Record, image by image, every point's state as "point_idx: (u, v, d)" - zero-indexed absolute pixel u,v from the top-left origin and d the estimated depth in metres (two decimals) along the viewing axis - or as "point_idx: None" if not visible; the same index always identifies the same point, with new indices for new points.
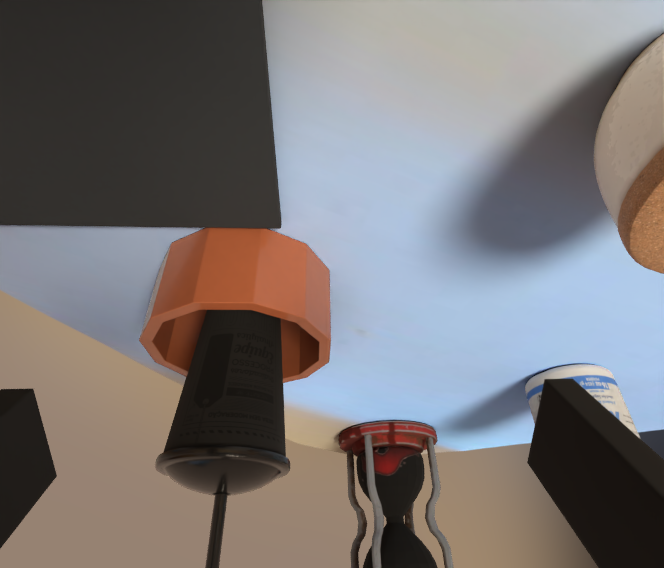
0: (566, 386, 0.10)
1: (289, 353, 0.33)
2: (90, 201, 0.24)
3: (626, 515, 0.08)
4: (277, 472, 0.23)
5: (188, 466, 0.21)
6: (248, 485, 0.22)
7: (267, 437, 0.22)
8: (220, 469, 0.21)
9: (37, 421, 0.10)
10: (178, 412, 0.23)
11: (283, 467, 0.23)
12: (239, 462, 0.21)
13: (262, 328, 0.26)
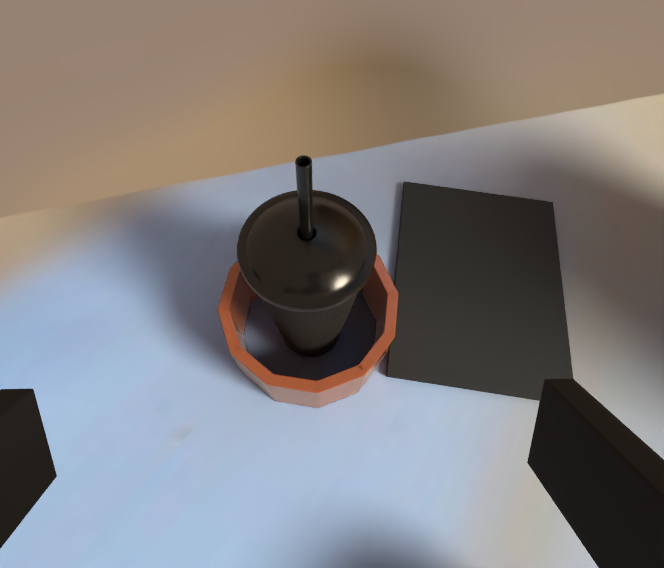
0: (566, 386, 0.10)
1: (241, 342, 0.29)
2: (420, 260, 0.37)
3: (626, 515, 0.08)
4: (306, 296, 0.20)
5: (360, 228, 0.22)
6: (317, 264, 0.20)
7: (340, 303, 0.22)
8: (357, 253, 0.21)
9: (37, 421, 0.10)
10: None
11: (315, 305, 0.20)
12: (358, 272, 0.21)
13: (337, 331, 0.28)
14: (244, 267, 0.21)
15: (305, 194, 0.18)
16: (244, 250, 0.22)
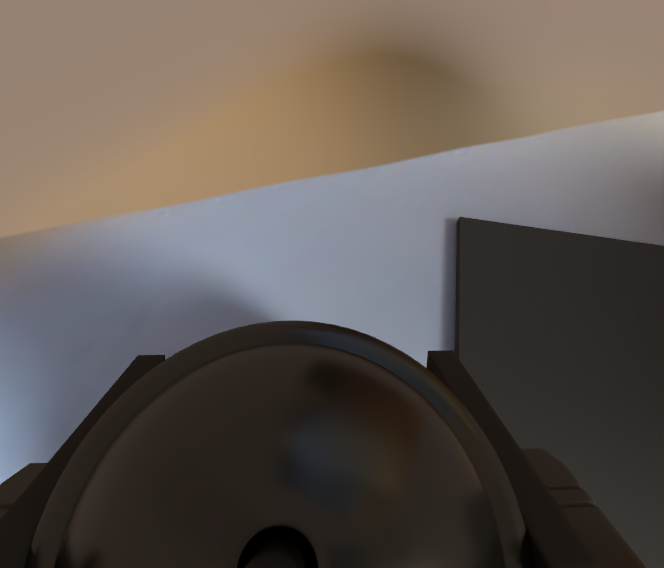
0: (444, 356, 0.11)
1: None
2: (498, 361, 0.21)
3: None
4: None
5: (474, 488, 0.06)
6: None
7: None
8: None
9: None
10: None
11: None
12: None
13: None
14: None
15: None
16: None
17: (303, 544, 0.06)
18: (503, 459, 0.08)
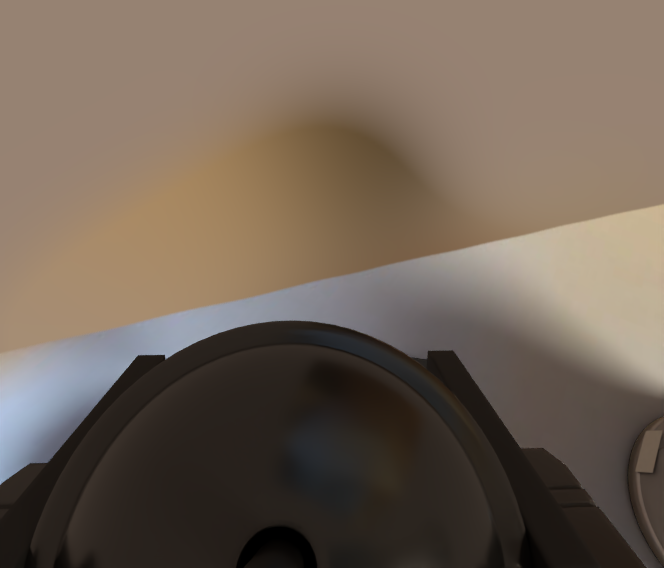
0: (444, 356, 0.11)
1: None
2: None
3: None
4: None
5: (473, 488, 0.06)
6: None
7: None
8: None
9: None
10: None
11: None
12: None
13: None
14: None
15: None
16: None
17: (302, 544, 0.06)
18: (503, 459, 0.08)
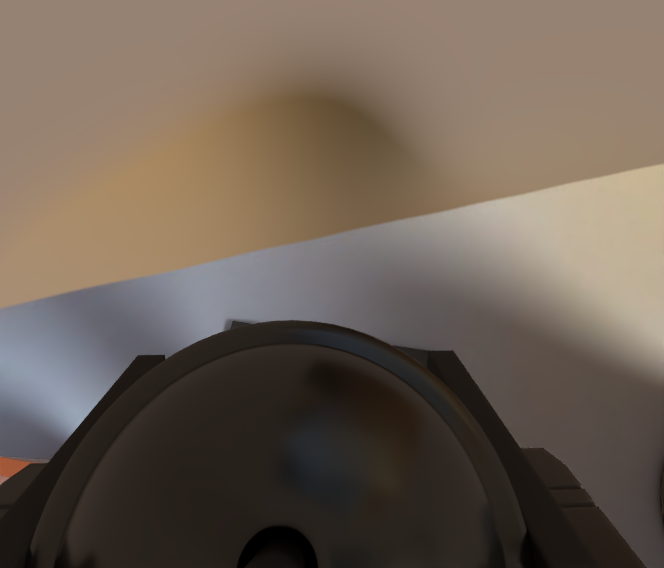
0: (444, 356, 0.11)
1: None
2: None
3: None
4: None
5: (474, 488, 0.06)
6: None
7: None
8: None
9: None
10: None
11: None
12: None
13: None
14: None
15: None
16: None
17: (303, 544, 0.06)
18: (503, 459, 0.08)
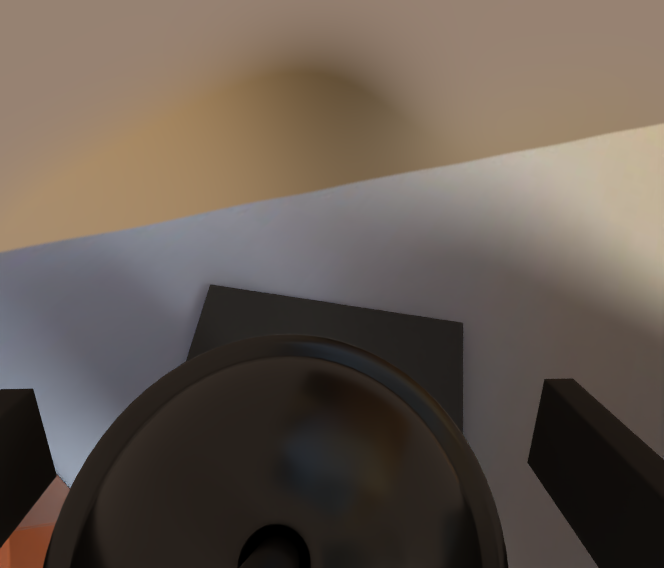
0: (566, 386, 0.10)
1: None
2: None
3: (626, 515, 0.08)
4: None
5: (454, 490, 0.07)
6: None
7: None
8: None
9: (37, 421, 0.10)
10: None
11: None
12: None
13: None
14: None
15: None
16: None
17: (298, 541, 0.06)
18: None
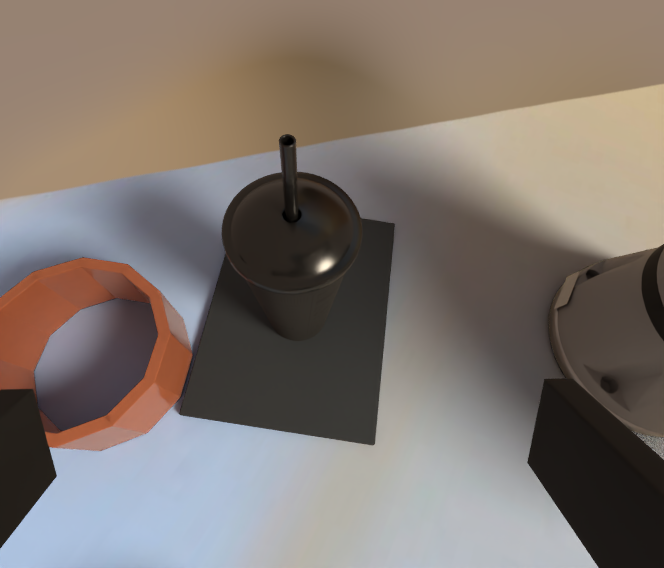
0: (566, 386, 0.10)
1: (1, 385, 0.27)
2: (240, 287, 0.35)
3: (626, 515, 0.08)
4: (291, 278, 0.20)
5: (346, 211, 0.22)
6: (303, 246, 0.20)
7: (326, 286, 0.22)
8: (343, 235, 0.21)
9: (37, 421, 0.10)
10: None
11: (300, 287, 0.20)
12: (343, 255, 0.21)
13: (323, 315, 0.29)
14: (229, 249, 0.21)
15: (289, 174, 0.17)
16: (229, 232, 0.21)
17: None
18: None
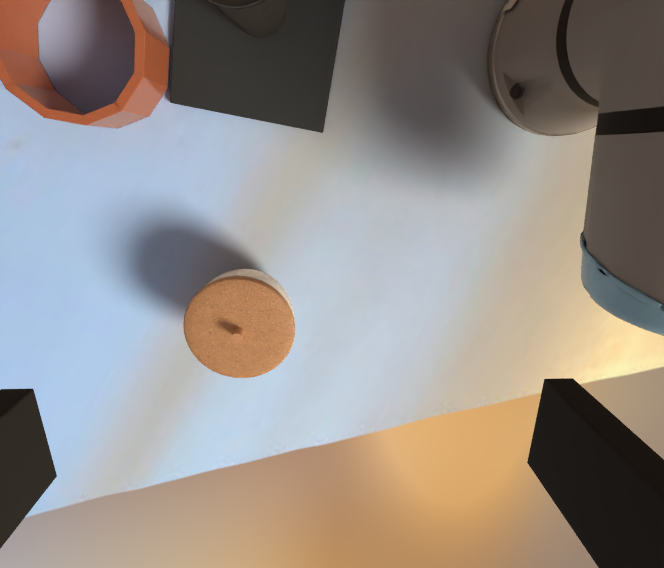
0: (566, 386, 0.10)
1: (22, 73, 0.35)
2: None
3: (626, 515, 0.08)
4: None
5: None
6: None
7: None
8: None
9: (37, 421, 0.10)
10: None
11: (240, 3, 0.25)
12: None
13: (276, 16, 0.32)
14: None
15: None
16: None
17: None
18: None
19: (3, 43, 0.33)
